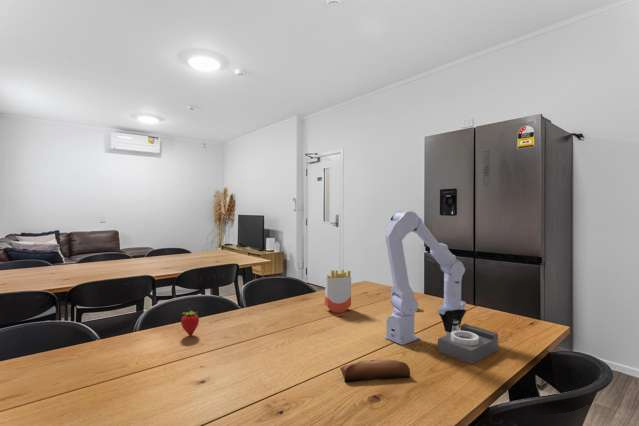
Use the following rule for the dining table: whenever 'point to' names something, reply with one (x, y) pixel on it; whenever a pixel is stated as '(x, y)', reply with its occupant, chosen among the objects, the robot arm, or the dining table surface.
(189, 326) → the strawberry
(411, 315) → the robot arm
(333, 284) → the french fries container
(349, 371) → the sunglasses case
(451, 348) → the camera body
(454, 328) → the lens
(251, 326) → the dining table surface
